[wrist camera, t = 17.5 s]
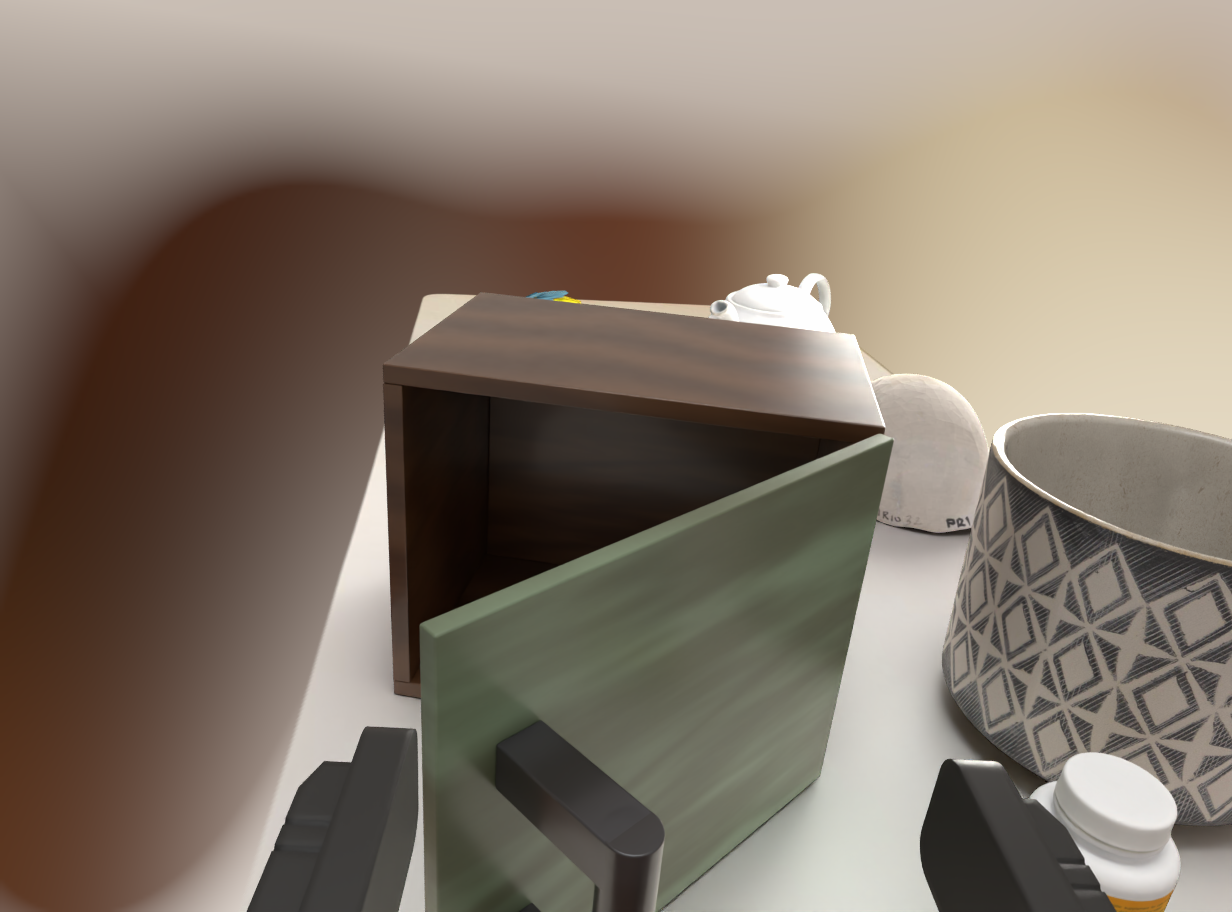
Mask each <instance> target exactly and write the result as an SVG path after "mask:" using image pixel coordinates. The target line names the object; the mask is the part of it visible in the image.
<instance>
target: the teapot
mask: <svg viewBox="0 0 1232 912" xmlns="http://www.w3.org/2000/svg"><path fill="white" fill-rule="evenodd" d="M787 282H788V278H787V277H785V276H783V275H779V274H773V275H769V276H768V277H767V283H763V284H754V285H751V286H748V287H745V288H743V289H741V290H740V291H736V292H733V293H731V294H729V295H728V296H727V298H726V300H725V301H723V300H718V301H715V302H714V303H713V304H712V305H711V307H710V312H711V315H710V316H709V317H708V318H712V319H720V320H729V321H738V322H747V323H756V324H764V325H773V326H782V327H791V328H799V329H808V330H817V331H826V332H835V331H834V328H833V326H832V324H831V322H830V321H829V319H828V315H829V311H830V305H831V293H830V286H829V283H828V281H827V279H826V278H825V277H824V276H822V275H820V274H815V273H812V274H809V275H808V276H806V277H805V278H804V280H803V281H802V282H801V284H800V286H799V289H798V288H796V287H792V286H788V285H786V284H787ZM815 283H817V286H818V290H819V302H818V301H816V300H815V299H814V298H813V297H812V296H810V291H811V289H812V287H813V285H814V284H815Z"/></svg>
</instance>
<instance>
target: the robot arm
mask: <svg viewBox="0 0 1232 912" xmlns="http://www.w3.org/2000/svg"><path fill="white" fill-rule="evenodd" d="M417 819H418V747H417V732H416V729H407V728H388V727H369V726H367V727H365V728H364V730H363V732H362V734H361V737H360V740H359V743H358V746H357V748H356V751H355V754H354V757H353V760H352V762H351V763H350V762H330V761H324V762H323V763H322V764H321V765H320V766H319V767H318V768H317V769H316V770H315V771H314V772H313V773H312V774H311V775H310V776H309V777H308V778H307V779H306V780H305V781H304V782H303V783H302V784H301V785H300V786H299V787H298V790H297V792H296V795H295V797H294V799H293V802H292V804H291V807H290V809H289V811H288V814H287V816H286V819H285V824H284V825H283V826H282V828H281V831H280V833H279V835H278V838H277V840H276V843H275V847H274V851H272V852H271V855H270V857H269V859H268V862H267V864H266V867H265V869H264V871H263V874H262V876H261V879H260V881H259V883H258V886H257V888H256V891H255V893H254V895H253V898H252V900H251V903H250V905H249V907H248V910H247V912H398V910H399V906H400V902H401V898H402V894H403V889H404V885H405V881H406V877H407V873H408V868H409V864H410V860H411V856H412V852H413V847H414V842H415V836H416V829H417ZM920 855H921V862H922V867H923V871H924V874H925V877H926V880H927V882H928V885H929V887H930V890H931V892H932V895H933V898H934V900H935V903H936V905H937V908H938V910H939V912H1117V911H1116V910H1115V908H1114V906H1113V905H1112V903H1111V901H1110V900H1109V898H1108V896H1107V895H1106V893H1105V892H1102V891H1101V888H1100V886H1101V885H1100V883H1099V881H1098V880H1097V878H1096V876H1095V875H1094V873H1093V872H1092V870H1091V868H1090V867H1089V865H1086V864H1085V858H1084V857H1083V855H1082V853H1081V852H1080V850H1079V848H1078V847H1077V845H1076V843H1075V842H1074V840H1073V838H1072V837H1071V835H1070V833H1069V832H1068V830H1067V828H1066V827H1065V826H1064V825H1063V824H1062V823H1061V822H1060V821H1059V820H1057V819H1056V818H1055V817H1054V816H1053V815H1052V814H1051V813H1050V812H1049V811H1048V810H1047V809H1046V808H1045V807H1044V806H1043V805H1041V804H1040V803H1039V802H1038V801H1037V800H1036V799H1022V798H1021V796H1020V794H1019V792H1018V791H1017V789H1016V787H1015V785H1014V784H1013V782H1012V780H1011V778H1010V777H1009V775H1008V773H1007V771H1006V770H1005V768H1004V767H1003V766H1002V765H1001V764H1000V763H999V762H996V761H981V760H962V759H947V760H945V761H944V762H943V764H942V766H941V768H940V771H939V775H938V778H937V781H936V784H935V788H934V791H933V794H932V797H931V801H930V804H929V807H928V810H927V814H926V817H925V820H924V824H923V827H922V831H921V836H920Z"/></svg>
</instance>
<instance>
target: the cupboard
mask: <svg viewBox="0 0 1232 912" xmlns="http://www.w3.org/2000/svg"><path fill="white" fill-rule="evenodd" d="M383 382H384V384H383V393H384V423H385V451H386V480H387V508H388V537H389V565H390V594H391V622H392V651H393V679H394V693H395V694H400V695H406V696H412V697H418V698H421V672H420V624H421V623H423V622H425V621H427V620H430V619H432V618H435V617H437V616H440V615H442V614H444V613H447V612H449V611H452V610H454V609H456V608H459V607H461V606H464V605H466V604H468V603H471V602H473V601H476V600H478V599H481V598H483V597H485V596H488V595H490V594H493V593H495V592H497V591H500V590H502V589H505V588H507V587H510V586H512V585H514V584H517V583H519V582H522V581H524V580H526V579H529V578H531V577H534V576H536V575H539V574H541V573H543V572H546V571H548V570H551V569H553V568H555V567H558V566H560V565H563V564H565V563H568V562H570V561H572V560H575V559H577V558H580V557H582V556H584V555H587V554H589V553H592V552H594V551H597V550H599V549H601V548H604V547H606V546H609V545H611V544H613V543H616V542H618V541H621V540H623V539H626V538H628V537H630V536H633V535H635V534H638V533H640V532H642V531H645V530H647V529H650V528H652V527H655V526H657V525H659V524H662V523H664V522H667V521H669V520H671V519H674V518H676V517H679V516H681V515H684V514H686V513H688V512H691V511H693V510H696V509H698V508H700V507H703V506H705V505H708V504H710V503H713V502H715V501H717V500H720V499H722V498H725V497H727V496H729V495H732V494H734V493H737V492H739V491H742V490H744V489H746V488H749V487H751V486H754V485H756V484H758V483H761V482H763V481H766V480H768V479H771V478H773V477H775V476H778V475H780V474H783V473H785V472H787V471H790V470H792V469H795V468H797V467H800V466H802V465H804V464H807V463H809V462H812V461H814V460H816V459H819V458H821V457H824V456H826V455H829V454H831V453H833V452H836V451H838V450H841V449H843V448H845V447H848V446H850V445H853V444H855V443H857V442H860V441H862V440H865V439H867V438H870V437H872V436H874V435H877V434H883V435H884V433H885V429H886V428H885V425H884V422H883V419H882V416H881V413H880V410H879V407H878V404H877V401H876V398H875V395H874V392H873V389H872V386H871V383H870V380H869V377H868V374H867V371H866V368H865V365H864V362H863V359H862V356H861V353H860V350H859V347H858V344H857V341H856V338H855V335H852V334H843V333H835V332H826V331H817V330H808V329H799V328H791V327H782V326H773V325H764V324H756V323H747V322H738V321H729V320H720V319H712V318H703V317H694V316H685V315H676V314H668V313H659V312H650V311H641V310H632V309H624V308H615V307H606V306H597V305H588V304H580V303H571V302H562V301H553V300H545V299H536V298H527V297H518V296H509V295H500V294H491V293H483V292H481V293H479V294H478V295H477V296H475V297H474V298H473V299H471V300H470V301H468V302H467V303H466V304H464V305H463V306H462V307H460V308H459V309H458V310H456V311H455V312H453V313H452V314H451V315H449V316H448V317H447V318H445V319H444V320H443V321H441V322H440V323H439V324H437V325H436V326H434V327H433V328H432V329H430V330H429V331H428V332H426V333H425V334H424V335H422V336H421V337H419V338H418V339H417V340H415V341H414V342H413V343H411V344H410V345H409V346H407V347H406V348H404V349H403V350H402V351H400V352H399V353H398V354H396V355H395V356H394V357H392V358H391V359H390V360H388V361H387V362H385V363H384V364H383Z"/></svg>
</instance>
